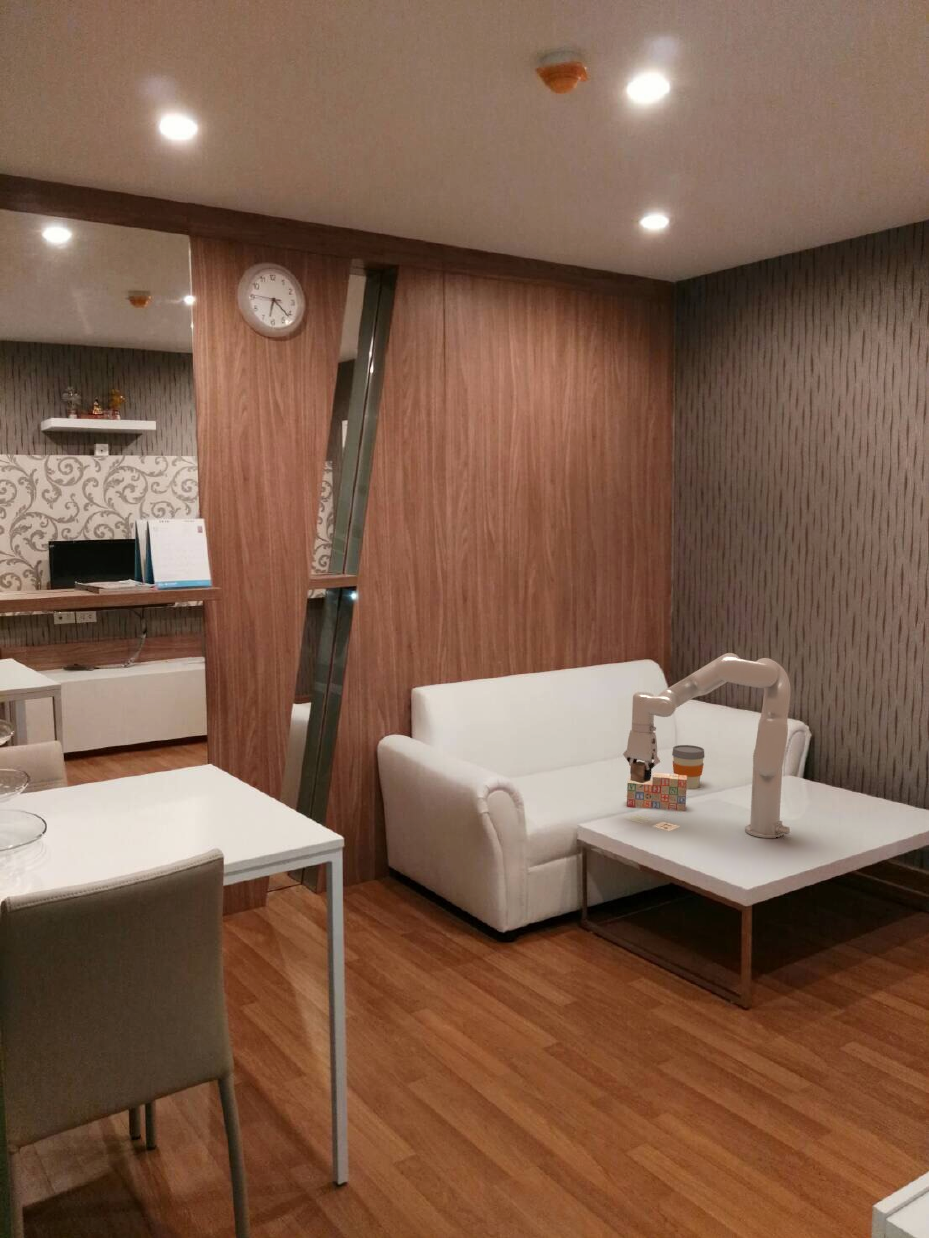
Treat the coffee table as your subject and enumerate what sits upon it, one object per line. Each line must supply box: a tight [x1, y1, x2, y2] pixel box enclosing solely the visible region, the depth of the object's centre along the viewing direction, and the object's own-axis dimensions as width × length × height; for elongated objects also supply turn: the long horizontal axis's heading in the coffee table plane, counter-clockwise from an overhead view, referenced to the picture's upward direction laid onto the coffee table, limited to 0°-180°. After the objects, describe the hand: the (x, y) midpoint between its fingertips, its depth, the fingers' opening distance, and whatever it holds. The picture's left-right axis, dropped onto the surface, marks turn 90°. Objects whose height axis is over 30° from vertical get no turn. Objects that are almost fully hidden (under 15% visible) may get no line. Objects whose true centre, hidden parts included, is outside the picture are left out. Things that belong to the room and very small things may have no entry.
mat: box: [626, 814, 681, 832], centre depth 354 cm, size 21×16×1 cm
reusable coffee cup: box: [671, 744, 705, 790], centre depth 400 cm, size 12×12×15 cm
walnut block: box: [629, 760, 651, 783], centre depth 356 cm, size 5×5×6 cm
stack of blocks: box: [626, 772, 688, 812], centre depth 372 cm, size 21×6×12 cm, turn 76°
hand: (640, 777), depth 356 cm, fingers closed on walnut block, 5 cm apart
